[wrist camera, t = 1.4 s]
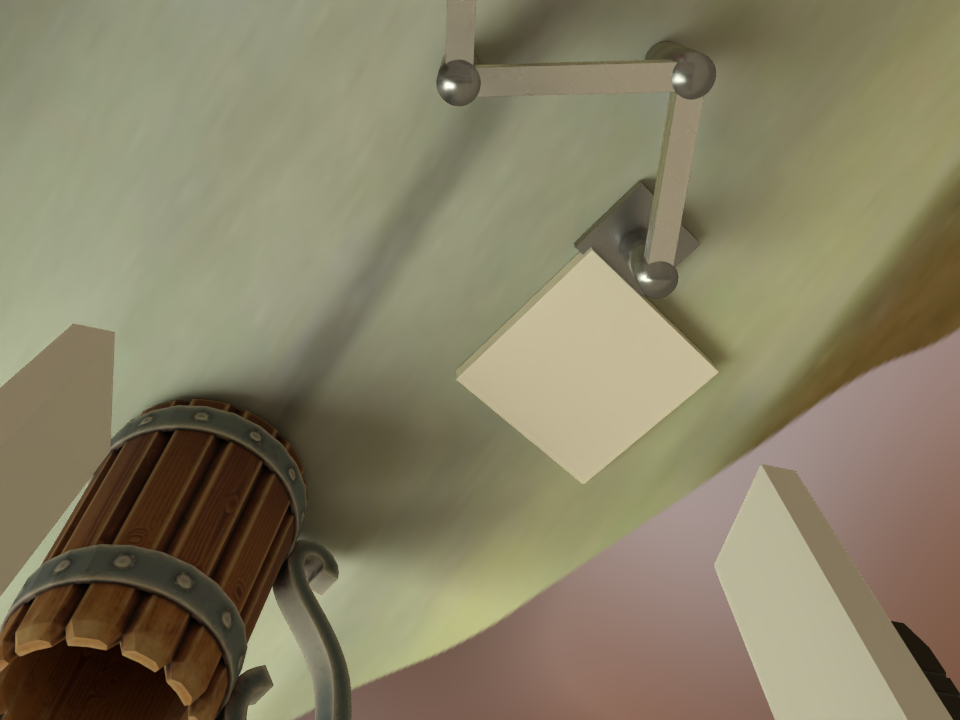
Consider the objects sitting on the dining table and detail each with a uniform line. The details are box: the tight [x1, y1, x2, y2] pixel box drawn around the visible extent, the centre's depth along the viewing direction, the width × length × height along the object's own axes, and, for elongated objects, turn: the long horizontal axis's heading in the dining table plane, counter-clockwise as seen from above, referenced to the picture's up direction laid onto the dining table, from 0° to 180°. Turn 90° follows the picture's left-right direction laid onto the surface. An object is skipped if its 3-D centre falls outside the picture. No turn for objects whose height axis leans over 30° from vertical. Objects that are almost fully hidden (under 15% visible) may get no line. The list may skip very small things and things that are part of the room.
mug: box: [0, 399, 352, 720], centre depth 36 cm, size 16×11×15 cm
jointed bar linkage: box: [437, 0, 716, 298], centre depth 31 cm, size 21×11×5 cm, turn 46°
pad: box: [456, 247, 719, 485], centre depth 39 cm, size 9×9×1 cm
